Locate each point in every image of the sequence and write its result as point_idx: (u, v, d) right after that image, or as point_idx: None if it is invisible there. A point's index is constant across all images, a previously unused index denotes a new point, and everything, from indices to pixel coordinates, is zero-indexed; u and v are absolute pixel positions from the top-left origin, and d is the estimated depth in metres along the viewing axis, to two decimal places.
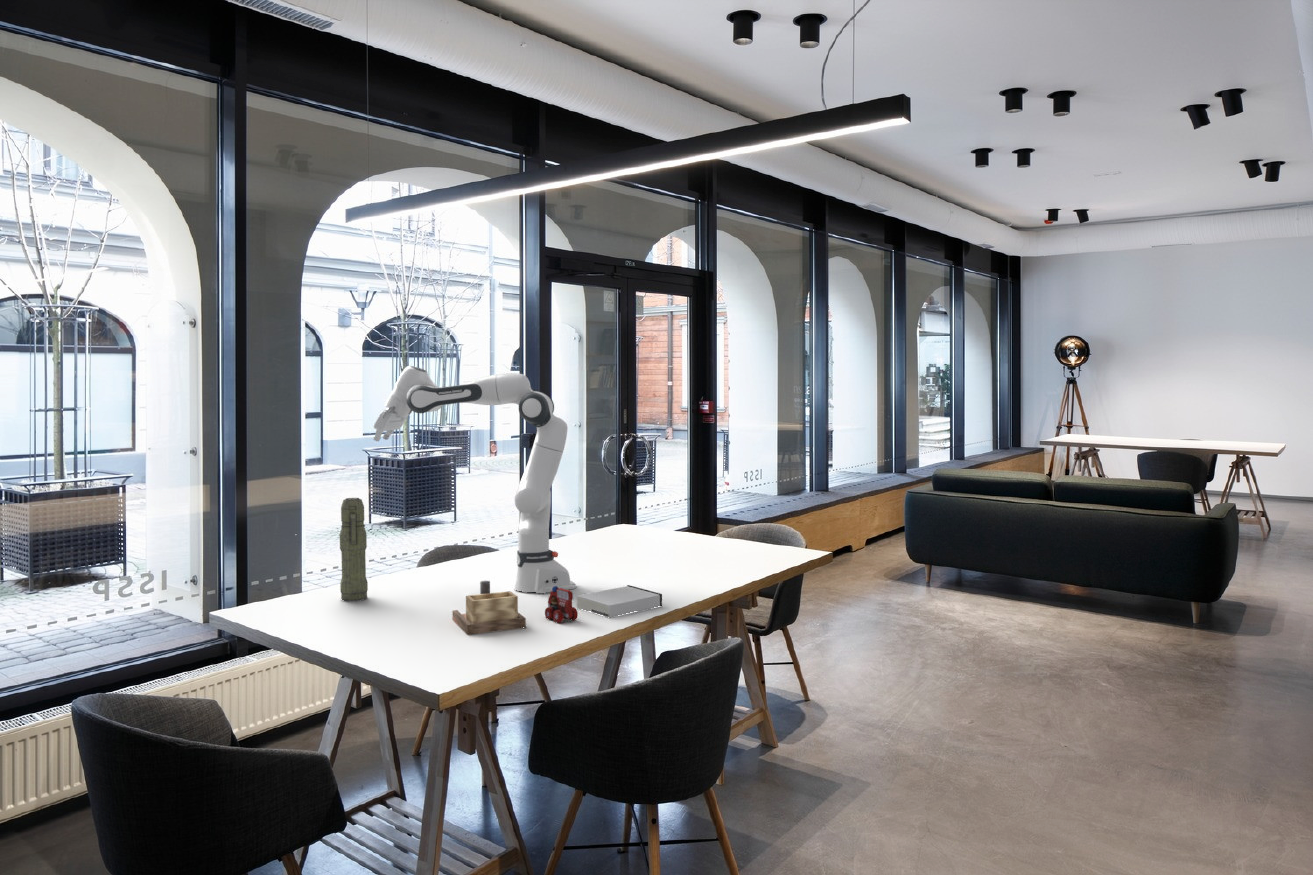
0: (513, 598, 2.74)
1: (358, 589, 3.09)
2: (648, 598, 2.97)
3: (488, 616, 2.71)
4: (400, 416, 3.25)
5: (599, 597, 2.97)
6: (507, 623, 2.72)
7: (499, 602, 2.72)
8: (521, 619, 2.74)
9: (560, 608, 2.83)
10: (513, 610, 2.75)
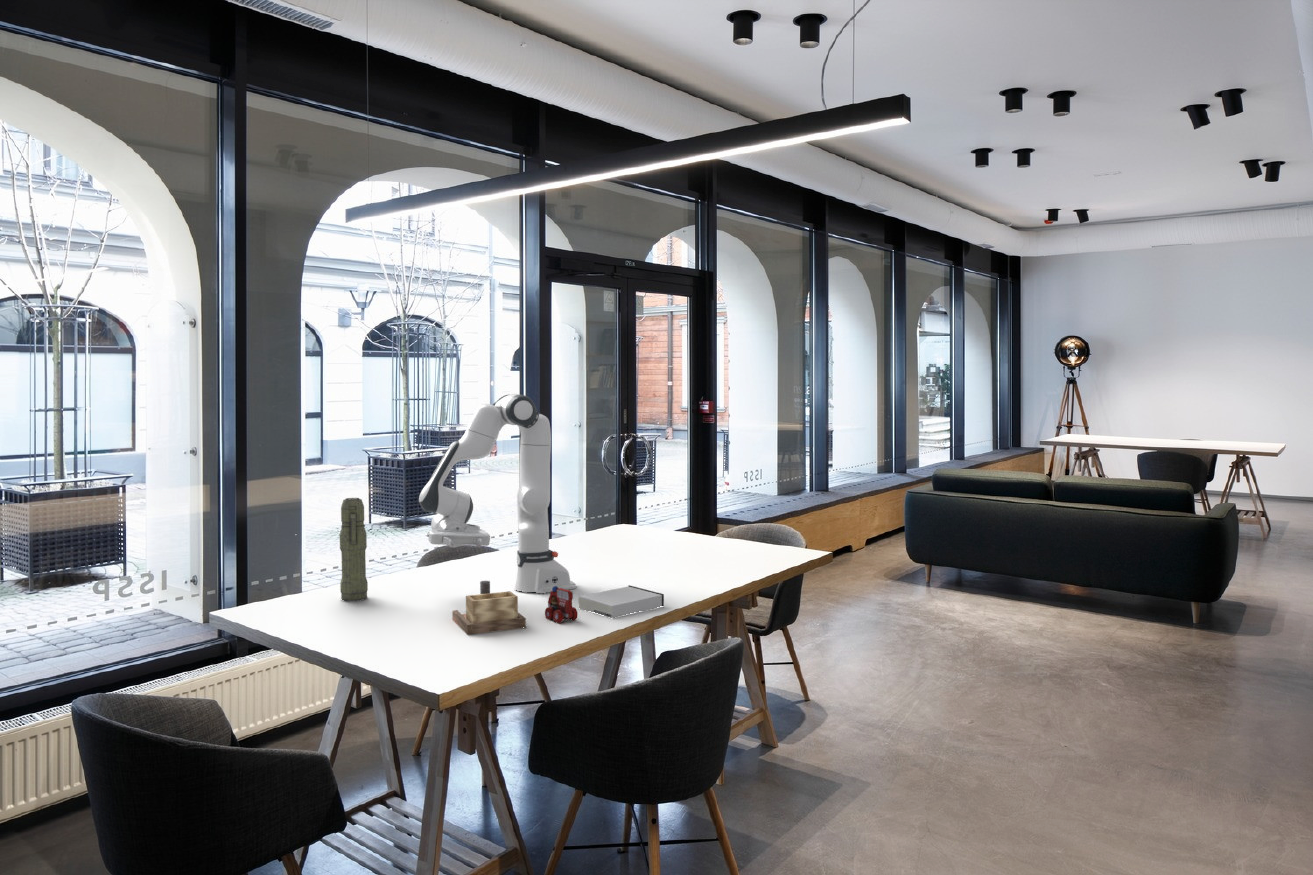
0: (513, 598, 2.74)
1: (358, 589, 3.09)
2: (650, 598, 2.97)
3: (488, 616, 2.71)
4: (453, 527, 3.03)
5: (601, 597, 2.96)
6: (507, 623, 2.72)
7: (499, 602, 2.72)
8: (521, 619, 2.74)
9: (560, 608, 2.83)
10: (513, 610, 2.75)
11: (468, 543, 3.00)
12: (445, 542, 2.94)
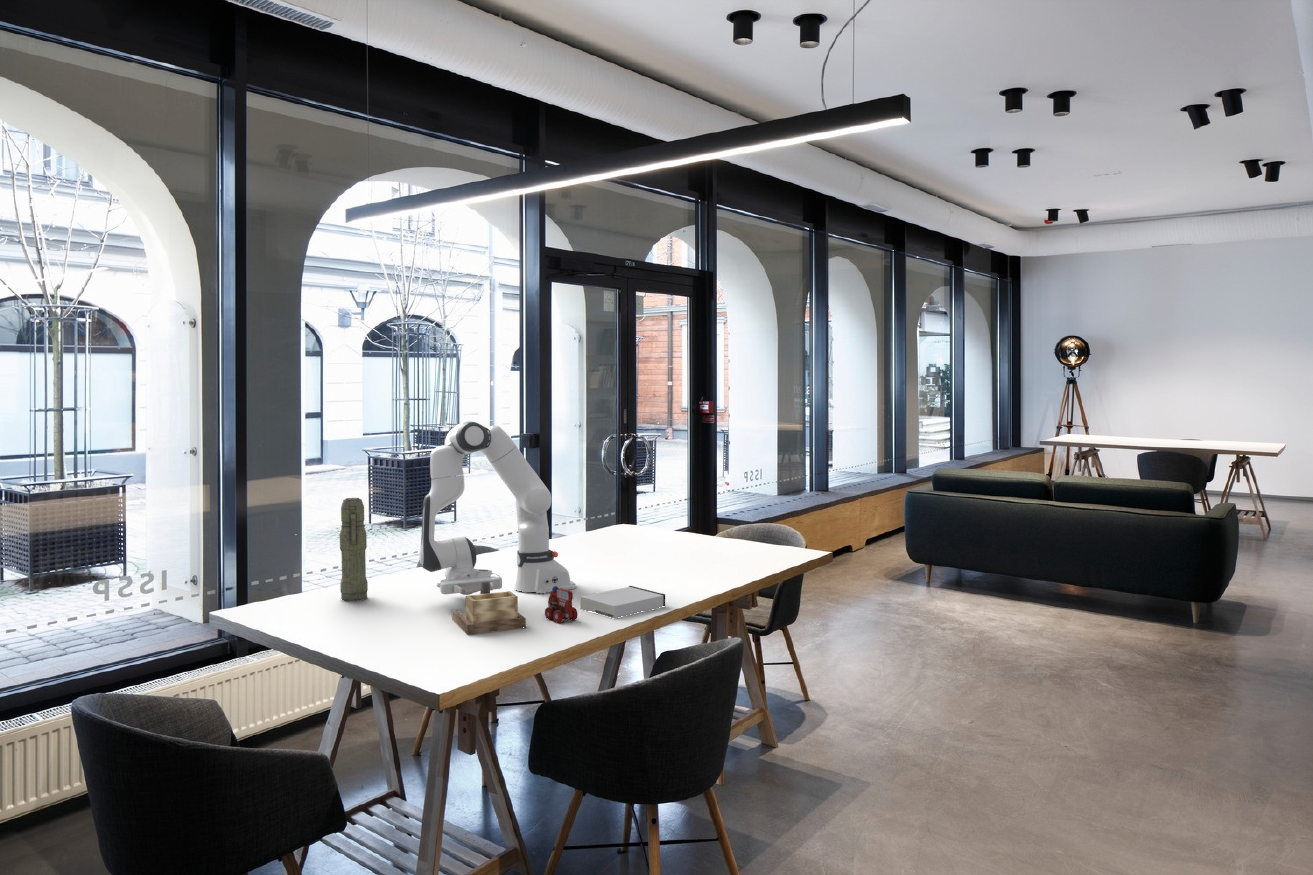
0: (513, 598, 2.74)
1: (358, 589, 3.09)
2: (652, 599, 2.96)
3: (488, 616, 2.71)
4: (464, 574, 3.01)
5: (603, 598, 2.96)
6: (507, 623, 2.72)
7: (499, 602, 2.72)
8: (521, 619, 2.74)
9: (560, 608, 2.83)
10: (513, 610, 2.75)
11: None
12: (456, 590, 2.91)
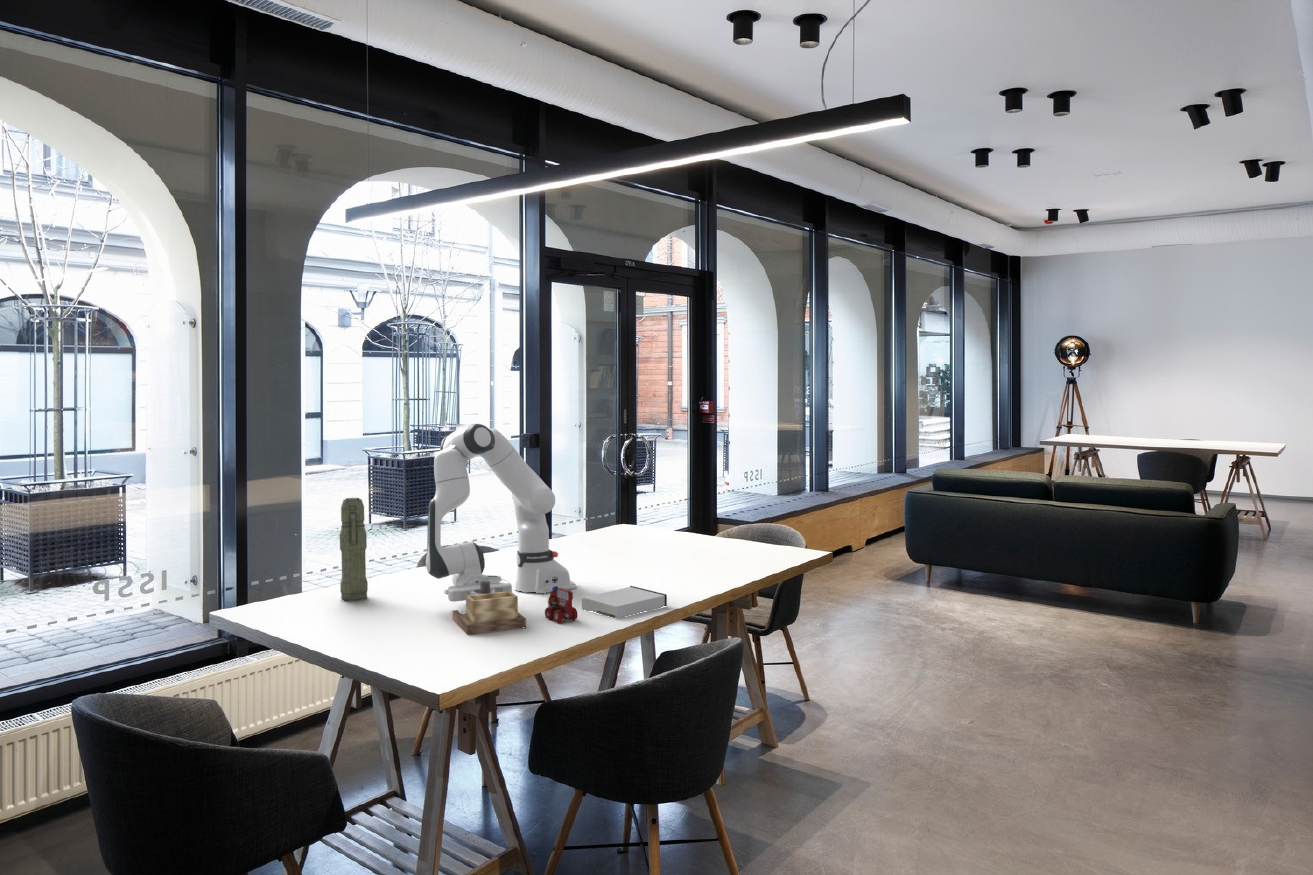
0: (513, 598, 2.74)
1: (358, 589, 3.09)
2: (653, 599, 2.96)
3: (488, 616, 2.71)
4: (472, 580, 2.91)
5: (604, 598, 2.95)
6: (507, 623, 2.72)
7: (499, 602, 2.72)
8: (521, 619, 2.74)
9: (560, 608, 2.83)
10: (513, 610, 2.75)
11: None
12: None
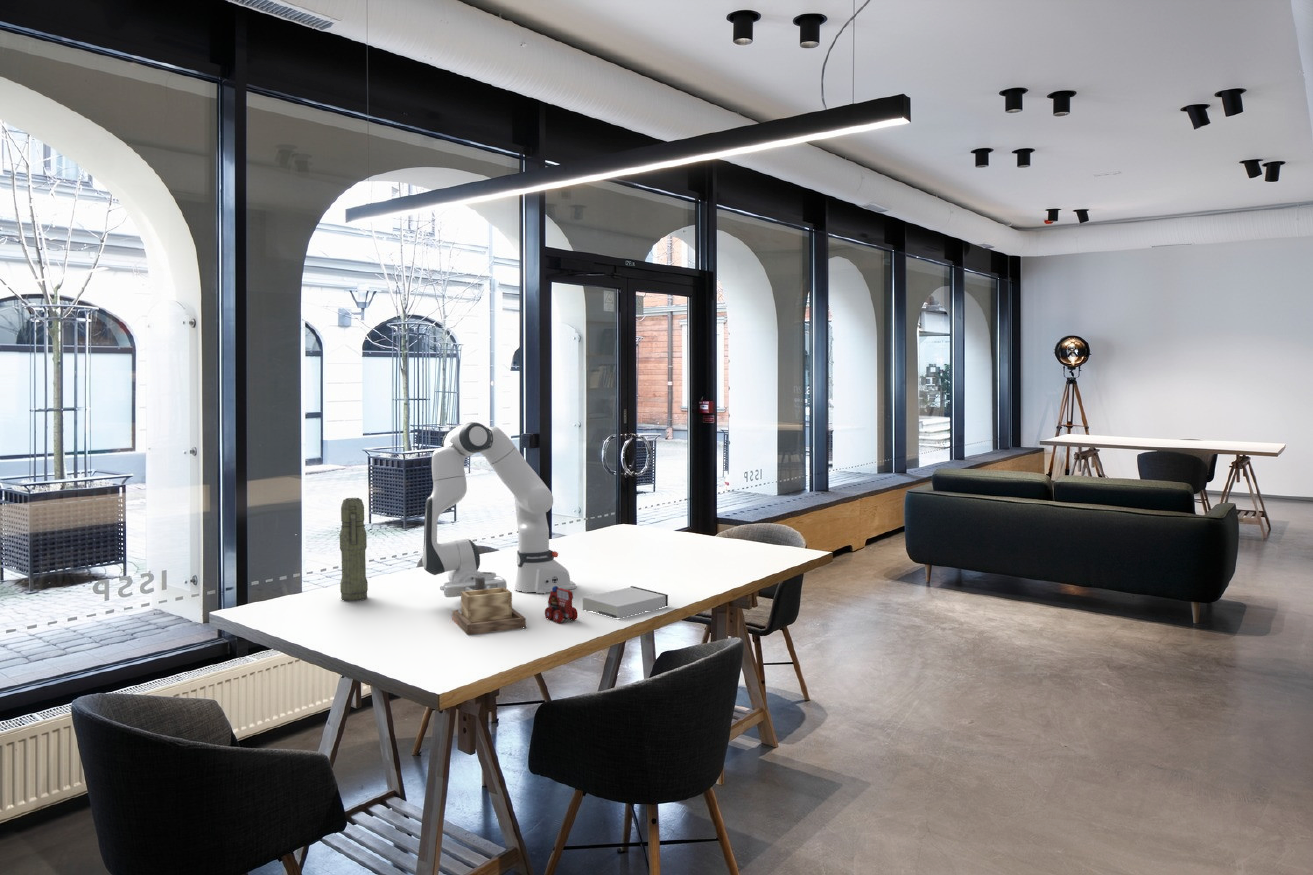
0: (507, 594, 2.80)
1: (358, 589, 3.09)
2: (654, 599, 2.96)
3: (483, 611, 2.77)
4: (468, 577, 2.96)
5: (605, 598, 2.95)
6: (507, 623, 2.72)
7: (493, 598, 2.78)
8: (521, 619, 2.74)
9: (560, 608, 2.83)
10: (507, 606, 2.80)
11: None
12: None
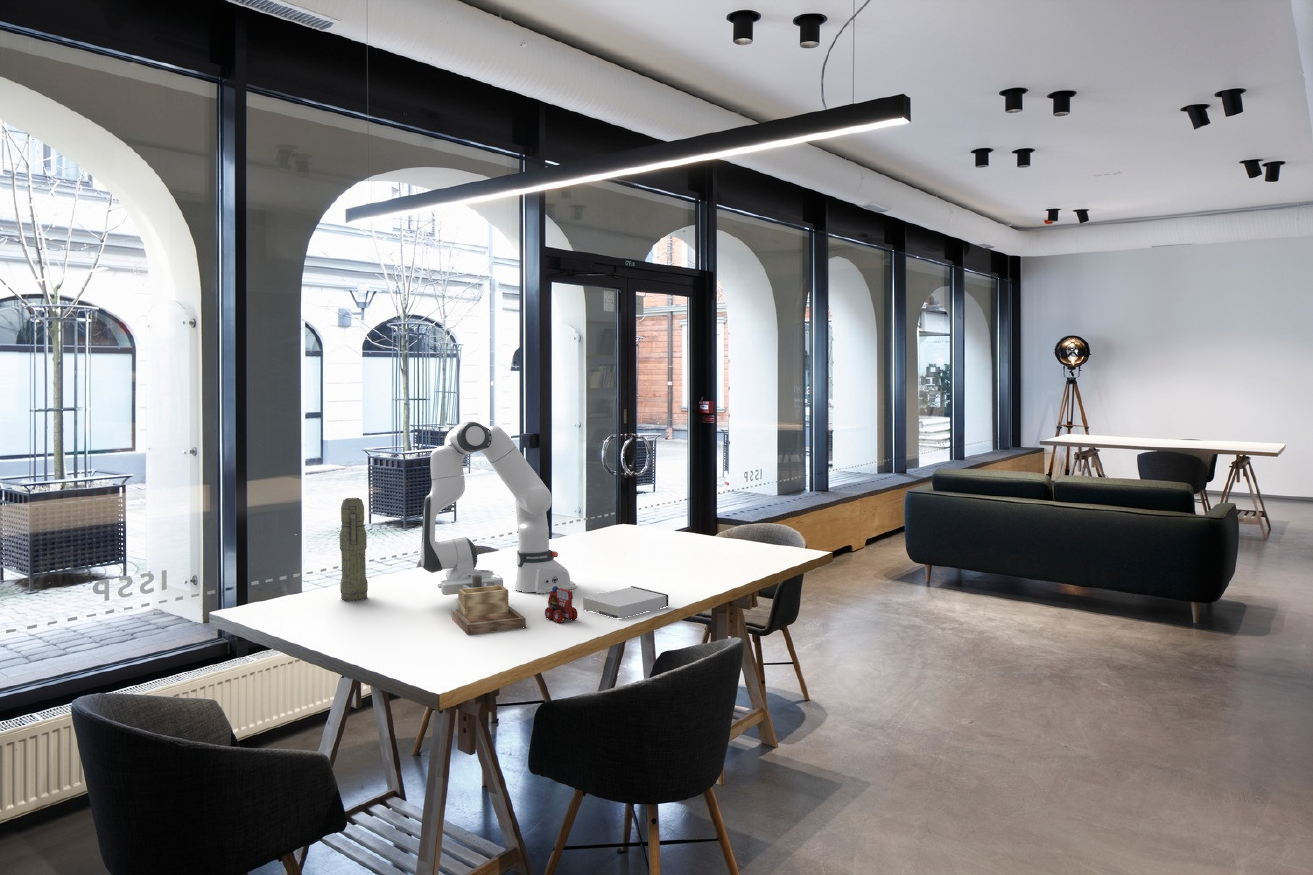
0: (504, 591, 2.83)
1: (358, 589, 3.09)
2: (655, 599, 2.96)
3: (479, 609, 2.80)
4: (465, 575, 3.00)
5: (606, 599, 2.95)
6: (507, 623, 2.72)
7: (490, 595, 2.81)
8: (521, 619, 2.74)
9: (560, 608, 2.83)
10: (504, 603, 2.83)
11: None
12: None
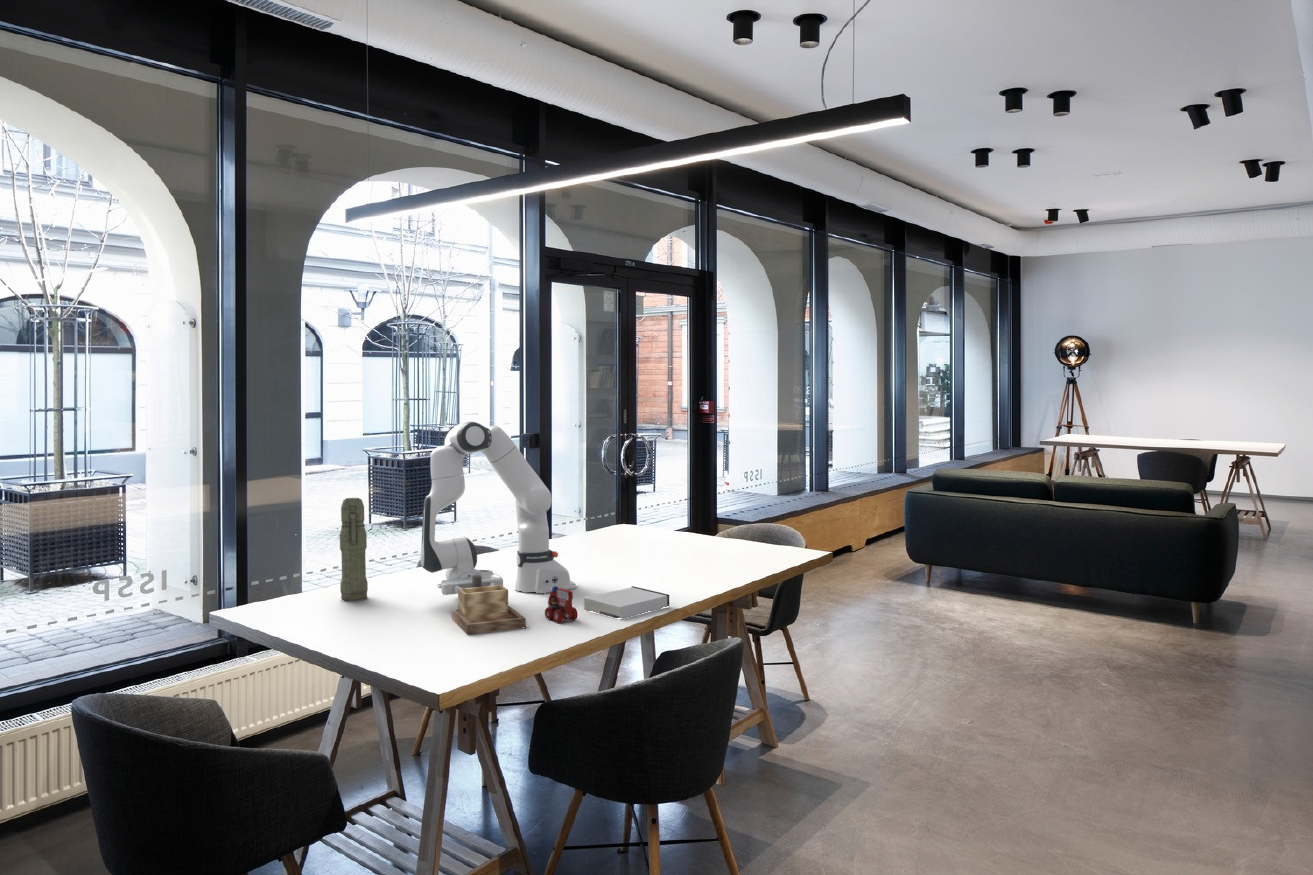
0: (504, 591, 2.83)
1: (358, 589, 3.09)
2: (656, 599, 2.96)
3: (479, 609, 2.80)
4: (465, 575, 3.00)
5: (607, 599, 2.94)
6: (507, 623, 2.72)
7: (490, 595, 2.81)
8: (521, 619, 2.74)
9: (560, 608, 2.83)
10: (504, 603, 2.84)
11: None
12: (457, 591, 2.90)
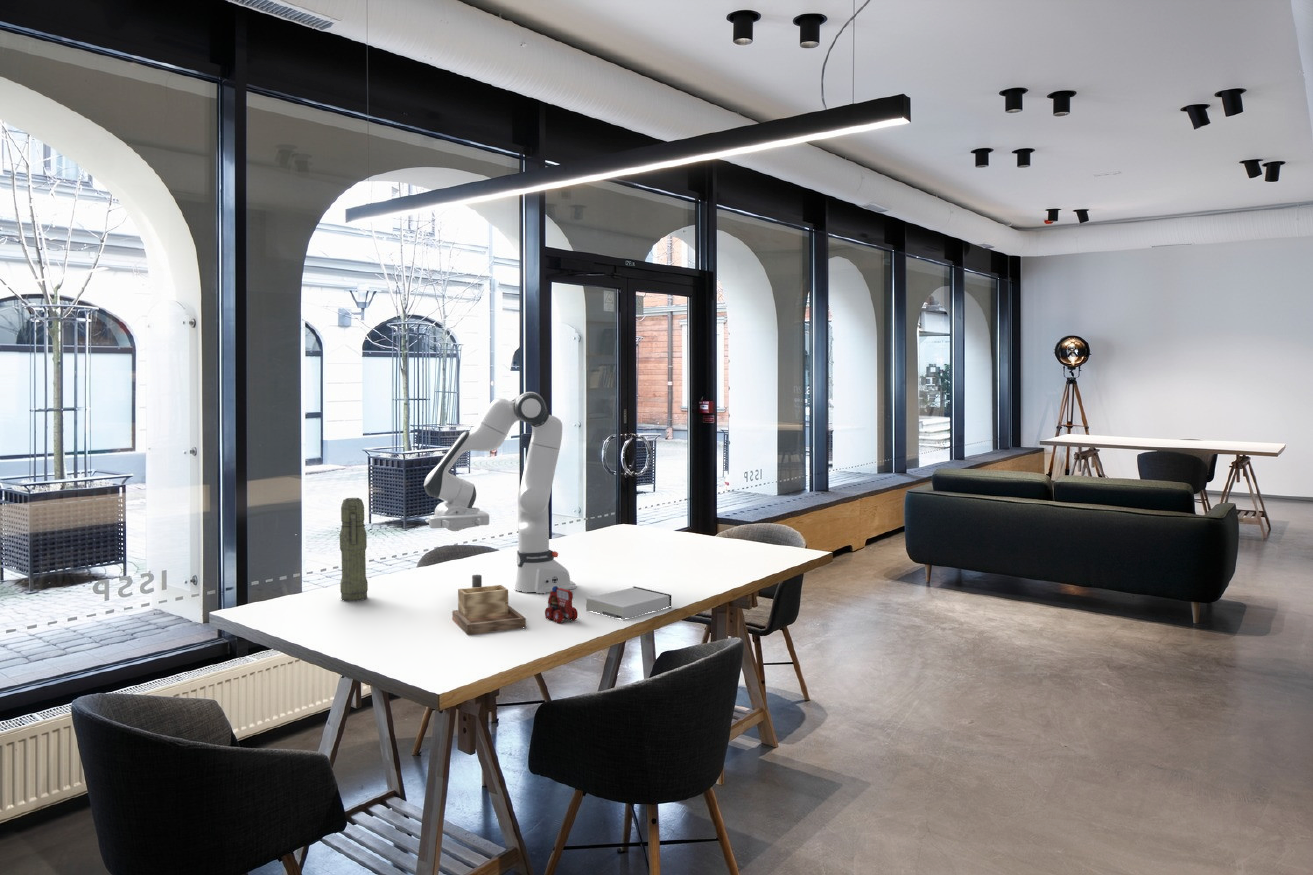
0: (504, 591, 2.83)
1: (358, 589, 3.09)
2: (658, 599, 2.95)
3: (479, 609, 2.80)
4: (452, 511, 3.10)
5: (609, 599, 2.94)
6: (507, 623, 2.72)
7: (490, 595, 2.81)
8: (521, 619, 2.74)
9: (560, 608, 2.83)
10: (504, 603, 2.84)
11: (468, 524, 3.06)
12: (444, 525, 3.00)
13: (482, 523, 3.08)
